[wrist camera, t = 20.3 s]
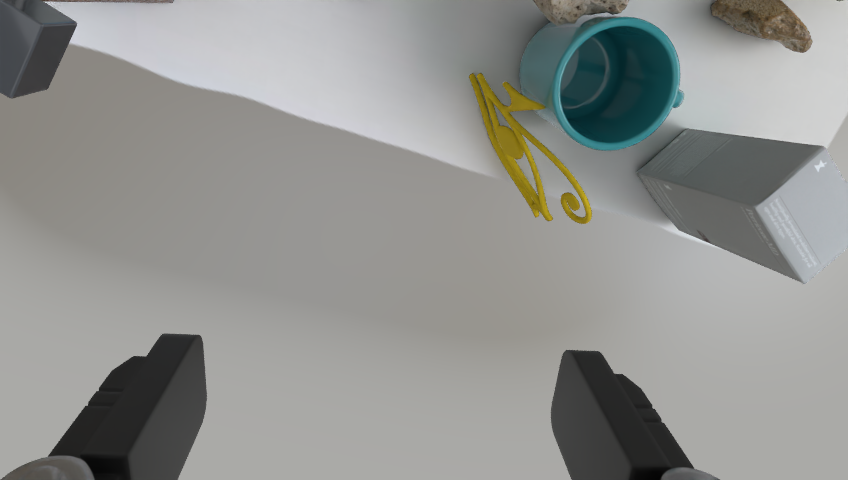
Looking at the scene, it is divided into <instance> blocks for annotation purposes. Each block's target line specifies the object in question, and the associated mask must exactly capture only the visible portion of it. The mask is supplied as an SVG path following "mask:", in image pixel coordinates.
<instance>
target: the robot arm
mask: <svg viewBox="0 0 848 480" xmlns="http://www.w3.org/2000/svg"><path fill="white" fill-rule="evenodd" d="M206 401H207V392H206V379H205V366H204V351H203V341H202V338H201V336H200V335H188V334H162V335H161V336H160V337H159V339H158V340H157V342H156V343H155V345H154V346H153V347H152V349H151V350H150V352H149V353H148V355H147V356H146V357H142V356H141V357H140V356H133V357H132V358H130V359H129V360H127V361H126V362H124V363H123V364H121V365H120V366H118V367H117V368H115V369H114V370H112V371H111V373H110V374H109V375H108V377H107V378H106V379H105V381H104V382H103V383H102V385H101V386H100V387H99V391H97V392H96V393H95V394H94V395H93V397H92V398H91V400H90V401H89V403H88V406H85V408H84V409H83V410H82V411H81V413H80V414H79V415H78V417H77V418H76V419H75V421H74V422H73V423H72V425H71V426H70V428H69V429H68V430H67V431H66V433H65V434H64V435H63V437H62V438H61V439H60V441H59V442H58V444H57V445H56V446H55V447H54V449H53V450H52V452H51V453H50V454H49V456H48V457H46V458H41V459H38V460H35V461H32V462H29V463H27V464H25V465H22V466H20V467H18V468H17V469H15V470H13V471H12V472H10V473H9V474H7V475H6V476H5V477H3V478H2V479H1V480H178V477H179V475H180V473H181V471H182V468H183V466H184V464H185V461H186V459H187V457H188V454H189V452H190V450H191V448H192V445H193V443H194V441H195V439H196V436H197V434H198V432H199V429H200V427H201V425H202V422H203V419H204V414H205V410H206ZM551 423H552V429H553V433H554V436H555V438H556V441H557V443H558V446H559V449H560V451H561V454H562V456H563V459H564V461H565V464H566V466H567V469H568V472H569V474H570V477H571V479H572V480H719V479H718V478H716V477H714V476H712V475H710V474H708V473H706V472H703V471H700V470H697V469H694V467H693V466H692V464H691V463H690V461H689V460H688V458H687V457H686V455H685V454H684V452H683V451H682V449H681V448H680V446H679V445H678V443H677V442H676V440H675V439H674V437H673V436H672V434H671V433H670V431H669V430H668V428H667V427H666V425H665V424H664V423H662V422H661V418H660V416H659V415H658V413H657V412H656V410H655V409H653V408H652V404H651V403H650V401H649V400H648V398H647V397H646V395H645V394H644V392H643V391H642V390H641V388H639V387H638V386H637V385H636V384H634V383H633V382H632V381H631V380H629V379H628V378H627V377H626V376H624V375H623V374H614V373H613V371H612V369H611V368H610V366H609V365H608V363H607V361H606V360H605V358H604V356H603V355H602V354H601V353H600V352H598V351H578V350H576V351H575V350H566V351H565V352H564V353H563V356H562V359H561V364H560V369H559V373H558V378H557V383H556V387H555V392H554V397H553V401H552V407H551Z"/></svg>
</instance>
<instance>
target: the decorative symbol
mask: <svg viewBox="0 0 848 480" xmlns="http://www.w3.org/2000/svg"><path fill="white" fill-rule="evenodd" d="M469 78H470V81H471V83H472V86H473V88H474V91H475V94H476V97H477V100H478V103H479V107H480V110H481V113H482V117H483V120H484V123H485V126H486V129H487V132H488V135H489V138H490V140H491V143H492V145H493V147H494V149H495V151H496V153H497V155H498V157H499V159H500V160H501V162H502V164H503V165H504V167H505V169H506V170H507V172H508V173H509V175H510V176H511V178H512V180H513V181H514V183H515V184H516V186H517V187H518V189H519V190H520V192H521V193H522V195H523V196H524V198H525V199H526V201H527V203H528V204H529V206H530V208H531V209H532V211H533V213H534V216H535V217H538V216H539V211H540V212H541V213H542V215H543V216H544V218H545V219H546V220H547V221H551V220H553V218H552V216H551V215H550V213H549V211H548V208H547V204H546V199H545V195H544V190H543V186H542V182H541V179H540V176H539V173H538V170H537V167H536V164H535V162H534V159H533V157H532V155H531V152H530V150H529V148H528V146H527V144H526V142H525V140H524V138H523V136H522V135H524V136H525V137H526V138H527V139H528V140H529V141H530V142H531V143H533V144H534V145H535V146H536V147H537V148H538V149H539V150H540V151H541V152H543V153H544V154H545V155H546V156H547V157H548V158H549V159H550V160H551V161H552V162H553V163H554V164H555V165H556V166H557V167H558V168H559V169H560V170H561V172H562V173H563V174H564V175H565V176H566V177H567V179H568V180H569V181H570V183H571V184H572V185H573V187H574V188H575V190H576V191H577V193H578V195H579V196H580V198H581V200H582V203H583V205H584V208H585V211H586V216H585V217H583V218H582V217H578V216H576V215H575V214H574V213H573V212H572V211H571V210H570V208H571V209H572V210H574V211H576V210H578V209H579V208H580V205H579V202H578V200H577V199H576V197H575V196H574V195H573V194H571V193H568V192H567V193H564V194H563V195H562V196H561V204H562V207H563V209H564V211H565V212H566V214H567V215H568V216H569V217H570V218H571V219H572V220H574V221H575V222H577V223H581V224H586V223H588V222H589V221H590V220H591V217H592V212H591V207H590V204H589V202H588V199H587V197H586V195H585V193H584V191H583V189H582V188H581V186H580V185H579V183H578V182H577V180H576V179H575V178H574V176H573V175H572V174H571V173H570V171H569V170H568V169H567V168H566V167H565V166H564V165H563V164H562V163H561V161H560V160H559V159H558V158H557V157H556V156H555V155H554V154H552V153H551V152H550V151H549V150H548V149H547V148H546V147H545V146H544V145H543V144H542V143H540V142H539V141H538V140H537V139H536V138H535V137H534V136H532V135H531V134H530V133H529V132H528V131H527V130H526V129H524V128H523V127H522V126H521V125H520V124H519V123H518V122H517V121H516V120H515V119H514V118H513V116H512V115H511V114H510V112H513V111H524V110H542V109H545V106H544V105H542V104H540V103H538V102H535V101H533V100H531V99H529V98H527V97H525V96H523V95H522V94H520V93H519V92H518V91H517V90H515V89H514V88H513V87H512V86H511V85H510V84H509V83H508V82H504V83H503V84H502V85H503V87H504V88H505V89H506V90H507V92H508V94H509V96H510V98H511V105H510V106H505V105H503V104H502V103H501V102H500V101H499V99H498V98H497V97H496V95H495V94H494V92H493V91H492V90H491V88H490V87H489V85H488V83H487V81H486V80H485V78H484V76H483V74H482V73H479V74H478V75H477V79H478V81H479V83H480V85H481V88H482V90H483V93H484V97H485V100H486V103H487V107H488V110H489V114H490V117H491V121H492V124H493V127H492V124H491V121H490V117H489V114H488V110H487V107H486V104H485V101H484V98H483V95H482V92H481V89H480V86H479V83H478V81H477V79H476V76H475V75H474V74H473V73H472V74H471V75H470V76H469ZM493 103H494V104H495V106H496V107H497V108H498V110H499V111H500V112H501V113H502V115H503V116H504V118H505V119H506V121H507V122H508V124H509V125H510V127H511V128H512V130H513V131H512V130H511V129H510V128H508V127H506V126H500V124H499V121H498V118H497V115H496V111H495V108H494V104H493ZM493 128H494V130H493ZM494 131H495V133H494ZM495 134H496V135H495ZM496 136H497V138H496ZM497 139H498V140H497ZM498 141H499V142H498ZM500 146H501V147H500ZM524 152H525V155H526V157H527V159H528V162H529V164H530V166H531V169H532V172H533V175H534V179H535V182H536V186H537V191H538V195H537V194H536V192H535V190H534V189H533V187H532V186H531V184H530V183H529V181H528V180H527V178H526V177H525V175H524V174H523V172H522V171H521V169H520V167H519V166H518V164H517V162H516V161H515V159H521V158H522V156H523V153H524ZM514 158H515V159H514ZM533 200H534V201H533ZM567 203H568V204H567ZM568 205H569V206H570V208H569V206H568ZM538 210H539V211H538Z"/></svg>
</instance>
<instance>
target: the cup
mask: <svg viewBox="0 0 848 480" xmlns="http://www.w3.org/2000/svg"><path fill="white" fill-rule="evenodd" d="M519 79H520V86H521V90H522V93H523V96H525V97H527V98H529V99H531V100H533V101H535V102H538V103H540V104H542V105H544V106H545V109H542V110H534V111H535V112H536V113H537V114H538V115H540V116H541V117H542V118H544V119H545V120H546V121H548V122H549V123H551V124H552V125H554V126H555V127H556V128H558V129H559V130H561V131H562V132H563V133H565V134H566V135H568V136H569V137H570V138H572V139H573V140H575V141H576V142H578V143H579V144H581V145H583V146H586V147H588V148H592V149H596V150H604V151H611V150H619V149H623V148H627V147H630V146H632V145H634V144H637V143H639V142H640V141H642V140H644V139H645V138H647V137H648V136H649V135H651V134H652V133H653V132H654V131H655V130H656V129H657V128H658V127H659V126H660V125H661V124H662V123H663V122H664V120H665V119H666V117H667V116H668V114H669V113H670V111H671V109H672V108H677V107H679V106H680V105H681V104H682V102H683V99H684V93H683V91H681V90H679V85H680V65H679V60H678V56H677V53H676V50H675V48H674V46H673V44H672V43H671V41H670V40H669V38H668V37H667V36H666V35H665V33H664V32H663V31H661V30H660V29H659V28H658V27H656V26H655V25H653V24H651V23H650V22H647V21H645V20H642V19H638V18H633V17H619V16H597V15H583V16H581V17H580V18H578V19H577V21H576V22H575V24H571V23H566V24H562V25H559V26H557V25H555V24H554V23H552V22H549V23H548V24H546V25H545V26H543V27H542V28H541V29H540V30H539V31H538V32H537V33H536V34H535V35H534V36H533V37H532V39H531V40H530V41H529V43H528V45H527V47H526V48H525V51H524V53H523V56H522V59H521V63H520V70H519Z"/></svg>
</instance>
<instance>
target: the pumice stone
mask: <svg viewBox="0 0 848 480" xmlns="http://www.w3.org/2000/svg"><path fill="white" fill-rule="evenodd" d="M533 1H534V2H535V3H536V5H537V6H538V8H539V9H540V10H541V11H542V12H543V13H544V15H545V16H546V18H547V19H548V20H549V21H551V22H552V23H554V24H555V25H557V26H559V25H562V24H566V23H571V24H575V22H576V21H577V19H578V18H580V17H581V16H583V15H593V14H598V13H605V12H608V13H610V14H612V15H613V14H618V13H621V12H622V10H624V9H625V8H626V6H627V4H628V2H629V0H533Z"/></svg>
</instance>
